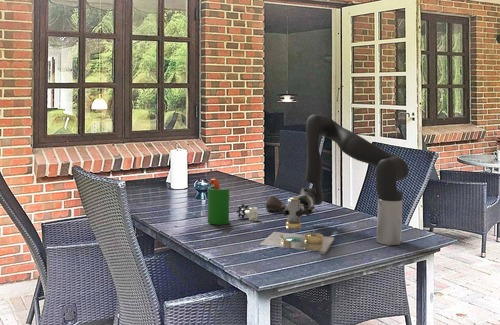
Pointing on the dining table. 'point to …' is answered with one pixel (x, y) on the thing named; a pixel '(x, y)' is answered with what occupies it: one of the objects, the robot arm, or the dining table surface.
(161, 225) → the dining table surface
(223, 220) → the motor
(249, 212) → the valve
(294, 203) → the silver and brass cylinder
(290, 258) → the dining table surface
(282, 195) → the dining table surface
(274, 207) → the stone
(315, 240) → the carrier
